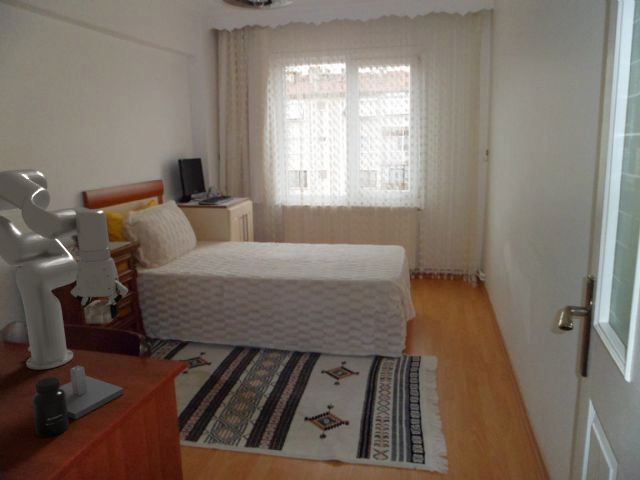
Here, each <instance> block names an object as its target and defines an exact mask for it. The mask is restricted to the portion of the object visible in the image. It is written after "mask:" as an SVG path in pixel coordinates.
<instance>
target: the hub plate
mask: <svg viewBox="0 0 640 480" xmlns="http://www.w3.org/2000/svg"><path fill="white" fill-rule="evenodd" d="M85 377H86V385H87V393H85V394H83V395H81V396H77V395H74V394H73V389H72V382H71V381H70V382H68V383H65V384H63V385H60V388H61V389H63V390H64V391H65V393H66V401H67V410H68V418H70V419H73V420H78V419H79V418H81V417H83V416H85V415H87V414H89V413H91V412H92V411H95V410H96V409H98V408H100V407H102V406H103V405H105V404H107V403H109V402H111V401H113V400H115V399H116V398H118V397H120V396H121V395H124V394H125V392H124V388H123V387H121V386H118V385H115V384H112V383H108V382H106V381H103V380H101V379H97V378H94V377H91V376H88V375H86V374H85Z"/></svg>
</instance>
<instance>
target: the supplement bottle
mask: <svg viewBox="0 0 640 480" xmlns="http://www.w3.org/2000/svg"><path fill="white" fill-rule="evenodd" d="M60 387H61V384H60V379H59V378H58V377H45V378H43V379H40V380H38V381H36V383H35V394H34V395H33V396H32V401H31V402H32V410H33V418H34V426H35V433H36V434H37V435H38V436H39V437H42V438H49V437H54V436H57V435H59V434H61V433H64V432H65V431H66V430H67V429H68V428H69V425H70V421H69V420H70V419H69V418H70V417H68V410H67V401H66V393H65V391H64V390H63V389H61V388H60Z"/></svg>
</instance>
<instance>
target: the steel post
mask: <svg viewBox="0 0 640 480" xmlns="http://www.w3.org/2000/svg"><path fill="white" fill-rule="evenodd" d="M85 369H86V368H85V367H84V366H82V365H76V366H74V367H71V368H69V373H70V380H71V381H70V382H72V389H73V394H74V395H77V396H81V395H83V394H85V393H87V385H86V377H85V375H86V372H85V371H86V370H85Z"/></svg>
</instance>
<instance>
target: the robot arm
mask: <svg viewBox="0 0 640 480" xmlns="http://www.w3.org/2000/svg"><path fill="white" fill-rule="evenodd" d="M50 202H51V195H50V192H49V191H48V180H47V178H46V177H45V175H44V174H43V173H42V172H41V171H38V170H37V169H34V168H33V169H32V168H26V169H9V170H1V171H0V212H2V211H8V210H9V211H10V210H16V209H19V210H21V212H20V213H21V217H22V220H23V223H24V224H25V225H26V227H27V228H28V229H30V230H31V231H29V232H23V231H21V230H20V229H19V228H18V227H17V226H16V224H15V223H14V222H13V221H12V220H10V219H9V218H7V217H5V216H3V215H0V257H1V259H2V260H3V261H4V262H5V263H6V264H7V265H9V266H11V267H13V268H14V267H16V268H17V267H19V268H18V269H17V270H16V272H15V282H16V285H17V287H18V290H19V293H20V296H21V300H22V304H23V309H24V316H25V322H26V330H27V335H28V336H27V337H28V342H29V346H28V348H27V351H29V352H30V355H31V356H30V357H29V358H28V359H27V360H26V362H25V364H26V367H27V368H29V369H31V370H34V371H35V370H37V371H38V370H39V371H40V370H49V369H54V368H57V367H60V366H63V365H65V364H67V363H68V362H70V361H72V359H73V358H74V352H73V351H72V350H70V349H68V348H67V342H66V335H65V327H64V320H63V318H64V317H63V311H62V306H61V301H60V299H59V298H57V296H55V294H54V293H53V292H52V290H55V289H57V288H60V287H64V286H66V285H70V284H72V283H76V285H75V286H74V287H73V288H72V289H71V290H70V295H72V297H74V298H76V300H78V302H80V303H81V306H83V309H84V308H85V307H86V306H87V305H89V304H90V303H92V302H93V301H91V300H92V298H108V300H110V302H111V304H112V305H110V309H111V318H112V319H113V320H114V319H116V318H117V317H118V316H119V315H120V305H119V303H120V301H122V299H123V298H124V296H126V294H127V293H128V292H129V289H128V287H126V286H125V285H123V284H122V283H121V281H119V274H118V269H117V266H116V263H115V260H114V257H111V249H110V239H109V232H108V231H109V230H108V222H107V215H106V212H105V211H104V210H102V209H96V208H91V209H89V208H87V207H83V206H76V207H68V208H61V209H55V210H54V209H53V210H47V208H48V207H49V205H50ZM70 236H77V240H78V241H77V242H78V250H76V251H74V255H75V256H76V257H79V260H78V261H76V259H75V258H74V256H73V255H72V254H71V253H70V251H69V250H67V248H66V247H65V246H64V245H63V244H62V243H61V242H60V241H61V240H59V239H62V238H68V237H70ZM75 281H76V282H75ZM119 291H120V292H119ZM117 292H119V294H117ZM83 312H84V311H83ZM84 314H85V312H84ZM118 314H119V315H118Z"/></svg>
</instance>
